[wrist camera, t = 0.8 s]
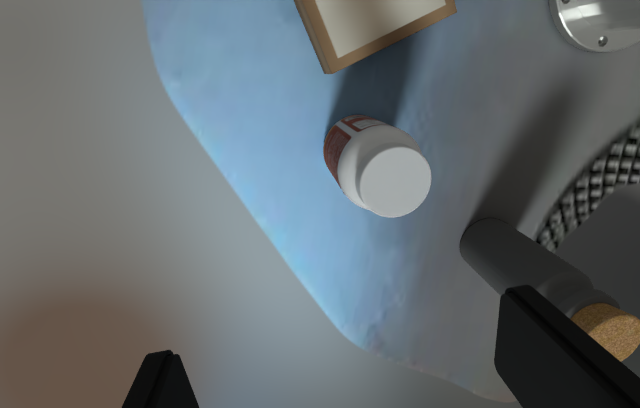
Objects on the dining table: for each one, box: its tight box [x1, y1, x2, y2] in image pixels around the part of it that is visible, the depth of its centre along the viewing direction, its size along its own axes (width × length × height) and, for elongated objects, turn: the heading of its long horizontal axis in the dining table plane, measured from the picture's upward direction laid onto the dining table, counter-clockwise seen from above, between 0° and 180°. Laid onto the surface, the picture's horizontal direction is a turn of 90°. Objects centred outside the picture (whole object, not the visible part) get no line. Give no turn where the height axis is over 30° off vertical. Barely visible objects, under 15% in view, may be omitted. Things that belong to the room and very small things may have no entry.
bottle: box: [460, 218, 640, 362], centre depth 30 cm, size 6×6×15 cm
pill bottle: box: [323, 115, 431, 217], centre depth 26 cm, size 6×6×11 cm
